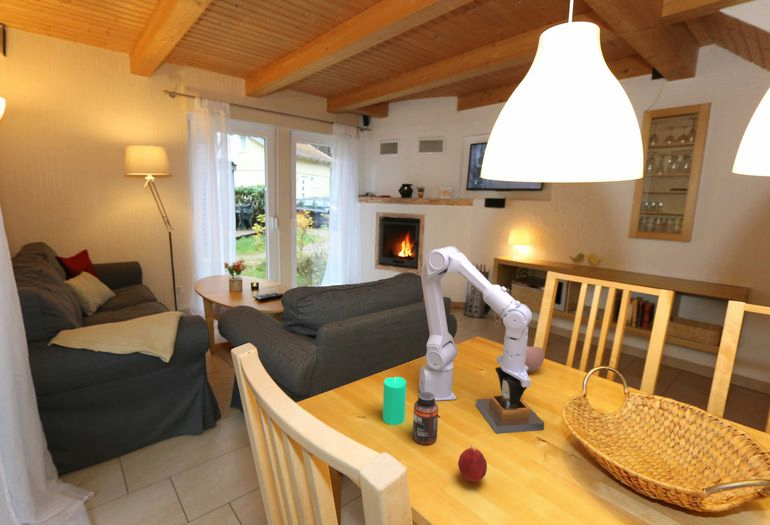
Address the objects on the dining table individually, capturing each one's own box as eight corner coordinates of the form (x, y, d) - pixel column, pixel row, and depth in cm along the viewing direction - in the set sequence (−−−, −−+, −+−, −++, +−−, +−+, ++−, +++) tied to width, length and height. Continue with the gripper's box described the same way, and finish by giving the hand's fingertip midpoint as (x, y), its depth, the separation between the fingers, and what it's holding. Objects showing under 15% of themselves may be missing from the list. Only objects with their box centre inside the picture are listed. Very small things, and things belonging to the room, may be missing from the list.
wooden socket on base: (496, 433, 97) (497, 417, 96) (475, 405, 109) (477, 391, 109) (543, 430, 99) (545, 414, 98) (518, 402, 112) (519, 388, 111)
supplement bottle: (436, 431, 97) (439, 390, 95) (437, 447, 91) (440, 403, 89) (412, 429, 97) (414, 388, 95) (411, 444, 92) (414, 401, 89)
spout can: (505, 409, 101) (508, 385, 100) (497, 400, 105) (500, 377, 104) (527, 408, 102) (530, 383, 101) (518, 399, 106) (521, 375, 105)
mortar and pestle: (535, 363, 138) (538, 333, 136) (547, 379, 126) (551, 346, 124) (501, 362, 139) (504, 331, 137) (510, 377, 127) (514, 345, 125)
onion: (490, 480, 81) (493, 446, 79) (476, 495, 77) (480, 459, 75) (466, 466, 85) (468, 434, 83) (451, 480, 80) (454, 446, 79)
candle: (407, 414, 104) (409, 373, 102) (402, 427, 98) (403, 383, 96) (385, 410, 106) (387, 369, 103) (379, 422, 100) (380, 379, 98)
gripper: (544, 362, 94) (538, 413, 97) (515, 340, 108) (510, 384, 111) (517, 363, 93) (512, 414, 96) (491, 340, 107) (487, 386, 110)
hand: (509, 398), depth 103 cm, fingers closed on spout can, 4 cm apart
